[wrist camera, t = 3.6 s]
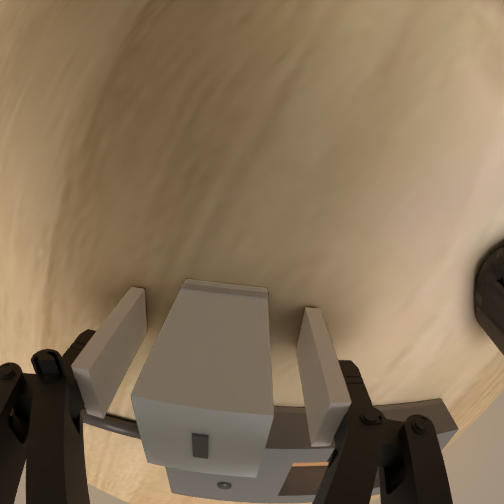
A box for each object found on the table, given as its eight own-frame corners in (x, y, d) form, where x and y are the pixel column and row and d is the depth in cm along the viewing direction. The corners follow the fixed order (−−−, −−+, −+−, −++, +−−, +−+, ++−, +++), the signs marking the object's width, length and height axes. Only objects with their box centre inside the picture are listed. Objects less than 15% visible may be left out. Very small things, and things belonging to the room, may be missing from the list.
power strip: (53, 423, 20) (38, 450, 17) (22, 352, 17) (-2, 380, 14) (396, 460, 21) (406, 489, 18) (441, 398, 18) (459, 430, 15)
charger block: (185, 277, 15) (127, 395, 7) (267, 286, 15) (276, 416, 7) (184, 343, 16) (146, 464, 9) (257, 352, 16) (257, 479, 9)
